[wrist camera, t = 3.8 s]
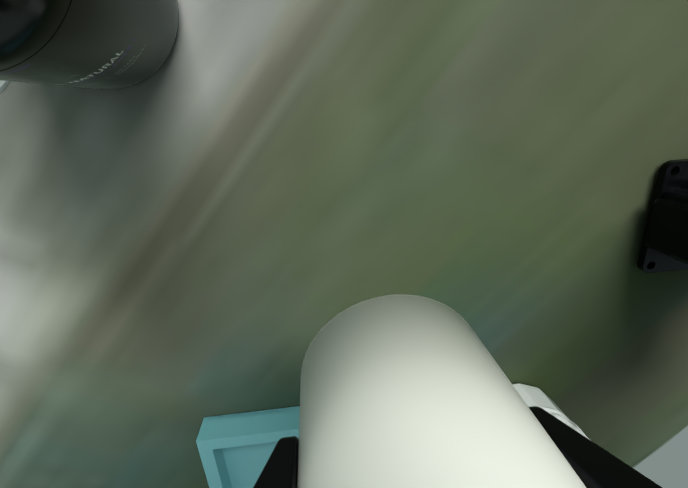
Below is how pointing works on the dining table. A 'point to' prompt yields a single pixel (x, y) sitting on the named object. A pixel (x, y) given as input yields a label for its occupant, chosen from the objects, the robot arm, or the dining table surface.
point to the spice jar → (416, 406)
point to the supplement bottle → (85, 41)
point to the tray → (242, 444)
